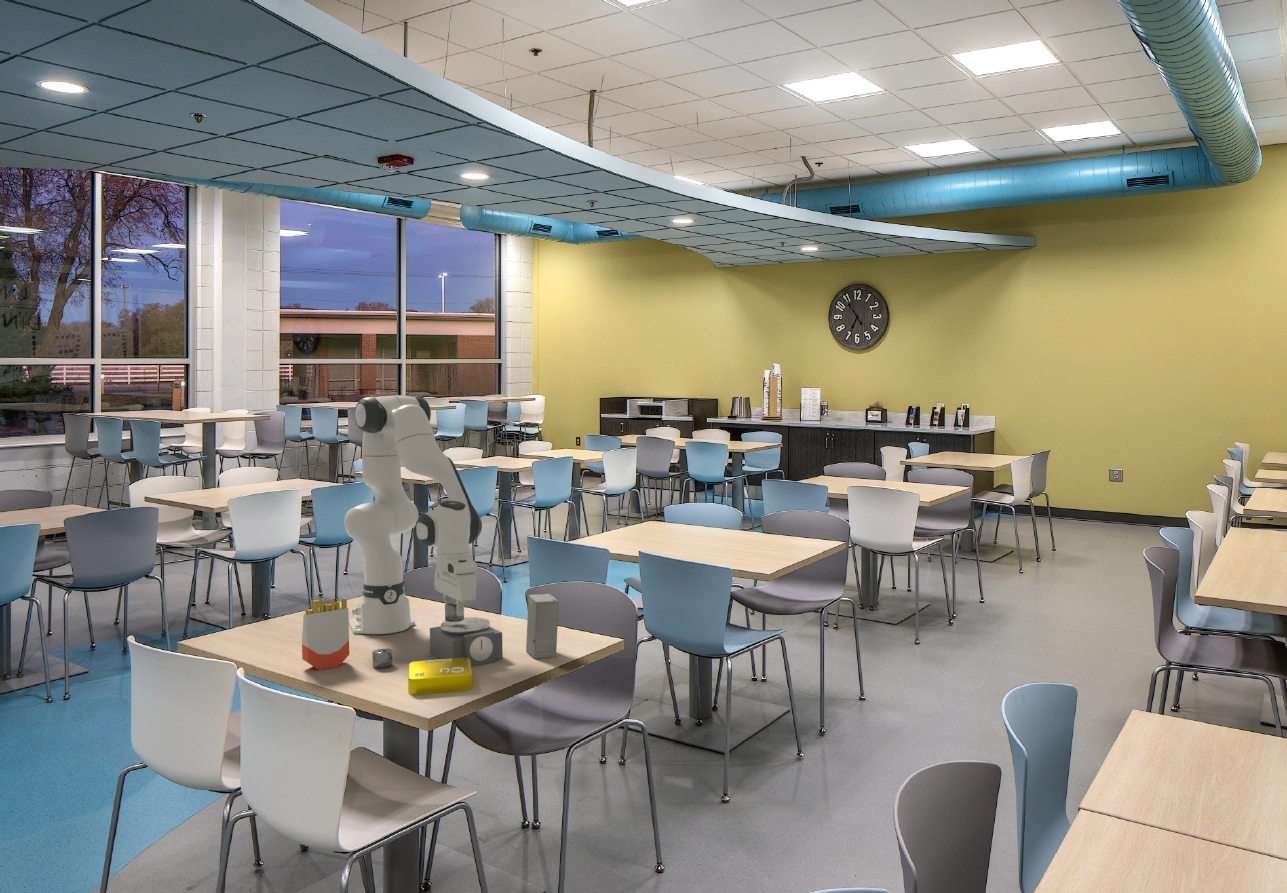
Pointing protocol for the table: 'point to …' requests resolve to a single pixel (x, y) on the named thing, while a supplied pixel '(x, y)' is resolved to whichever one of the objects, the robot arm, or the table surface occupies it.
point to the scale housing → (467, 645)
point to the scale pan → (466, 626)
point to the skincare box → (542, 626)
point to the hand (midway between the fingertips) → (454, 613)
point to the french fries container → (326, 634)
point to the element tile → (439, 676)
